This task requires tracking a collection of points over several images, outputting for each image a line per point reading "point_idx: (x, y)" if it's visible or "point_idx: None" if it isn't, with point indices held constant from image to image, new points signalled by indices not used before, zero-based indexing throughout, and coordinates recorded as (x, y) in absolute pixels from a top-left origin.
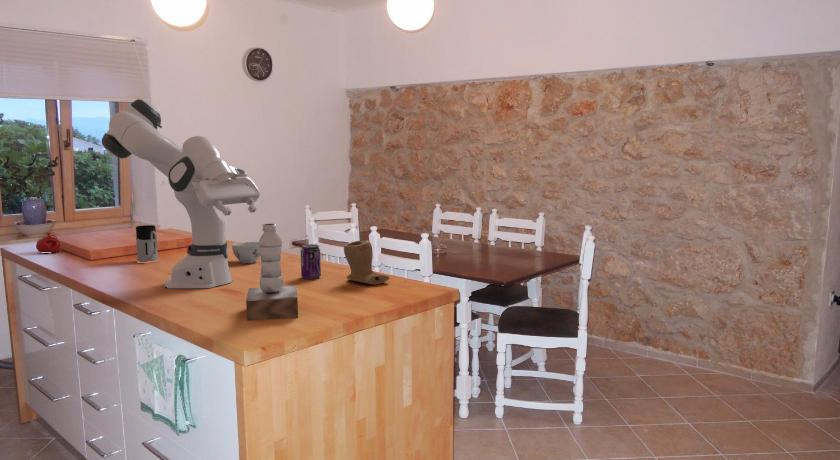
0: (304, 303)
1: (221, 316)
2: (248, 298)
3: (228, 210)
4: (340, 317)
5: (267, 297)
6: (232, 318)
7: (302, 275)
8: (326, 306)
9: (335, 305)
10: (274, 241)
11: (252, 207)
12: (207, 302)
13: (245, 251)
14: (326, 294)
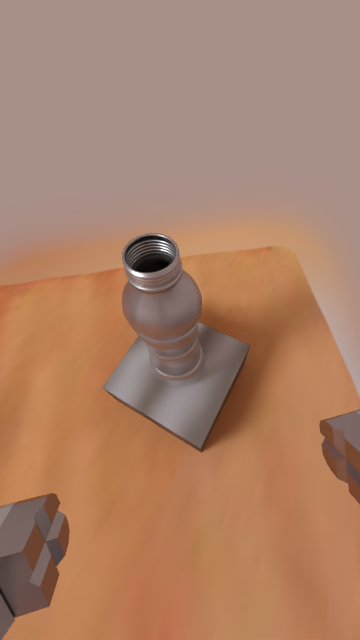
0: (98, 399)
1: (278, 425)
2: (242, 350)
3: (357, 418)
4: (120, 289)
5: (207, 334)
6: (263, 394)
7: None
8: (88, 352)
9: (73, 348)
10: (164, 266)
11: (32, 511)
12: (275, 620)
13: None
14: (13, 437)
